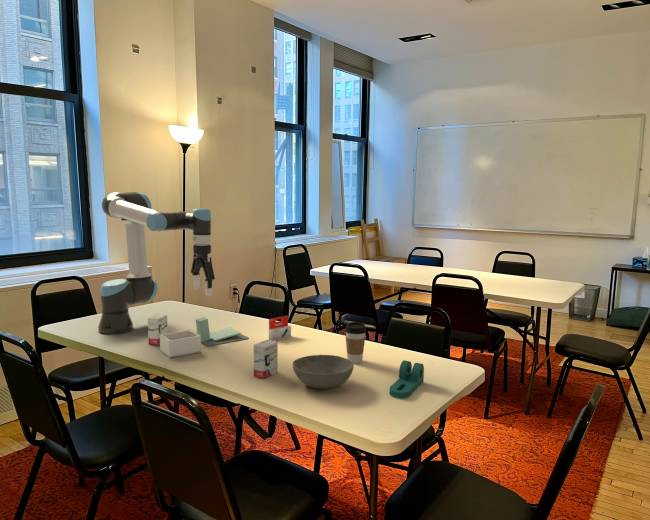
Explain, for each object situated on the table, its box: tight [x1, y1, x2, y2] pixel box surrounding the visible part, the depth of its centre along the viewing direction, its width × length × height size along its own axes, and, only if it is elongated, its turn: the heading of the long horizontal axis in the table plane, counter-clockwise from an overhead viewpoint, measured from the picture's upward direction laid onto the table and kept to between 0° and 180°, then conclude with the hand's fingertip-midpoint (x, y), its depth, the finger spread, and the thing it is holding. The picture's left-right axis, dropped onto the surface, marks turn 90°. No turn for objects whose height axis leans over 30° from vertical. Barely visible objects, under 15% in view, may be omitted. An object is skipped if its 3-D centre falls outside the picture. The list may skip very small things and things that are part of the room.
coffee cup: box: [344, 321, 367, 365], centre depth 195 cm, size 8×8×15 cm
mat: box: [201, 333, 250, 347], centre depth 224 cm, size 16×20×1 cm
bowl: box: [292, 354, 355, 390], centre depth 171 cm, size 21×21×8 cm
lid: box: [195, 316, 242, 342], centre depth 222 cm, size 11×17×10 cm, turn 127°
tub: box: [159, 329, 202, 359], centre depth 204 cm, size 11×13×7 cm
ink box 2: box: [253, 339, 279, 380], centre depth 180 cm, size 9×5×12 cm, turn 148°
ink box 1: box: [147, 313, 169, 346], centre depth 216 cm, size 9×5×12 cm, turn 168°
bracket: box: [389, 359, 425, 399], centre depth 169 cm, size 18×7×8 cm, turn 151°
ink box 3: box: [268, 315, 292, 342], centre depth 225 cm, size 2×11×10 cm, turn 131°
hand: (202, 292), depth 217 cm, fingers open, 13 cm apart
